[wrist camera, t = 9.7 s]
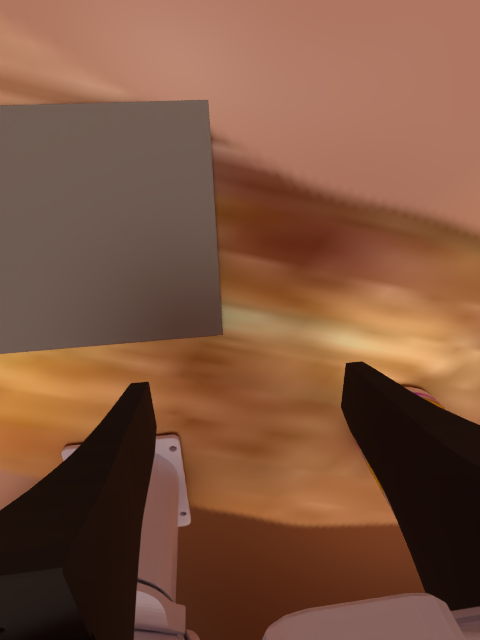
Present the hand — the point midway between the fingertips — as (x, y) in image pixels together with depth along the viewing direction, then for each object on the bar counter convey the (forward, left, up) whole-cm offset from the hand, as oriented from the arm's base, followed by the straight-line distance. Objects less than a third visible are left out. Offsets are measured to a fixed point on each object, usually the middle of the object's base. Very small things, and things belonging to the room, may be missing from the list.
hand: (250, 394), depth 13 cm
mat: (+4, +12, -9) cm, 15 cm away
